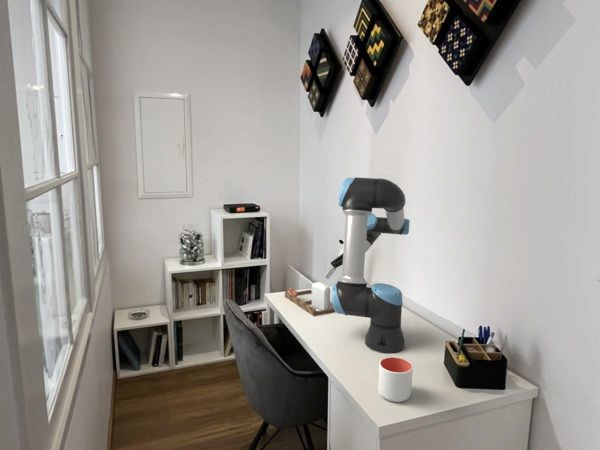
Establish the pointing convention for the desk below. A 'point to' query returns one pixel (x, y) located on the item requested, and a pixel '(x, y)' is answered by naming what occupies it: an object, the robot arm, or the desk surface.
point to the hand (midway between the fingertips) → (333, 281)
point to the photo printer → (320, 296)
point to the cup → (395, 379)
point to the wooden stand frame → (305, 302)
